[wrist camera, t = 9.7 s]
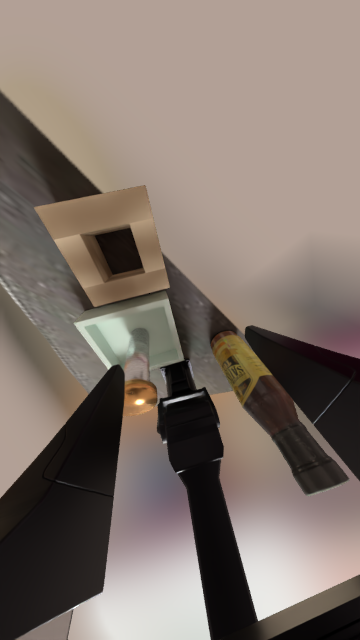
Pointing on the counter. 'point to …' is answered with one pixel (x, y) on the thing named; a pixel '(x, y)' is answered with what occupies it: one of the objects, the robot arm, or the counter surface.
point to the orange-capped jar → (138, 375)
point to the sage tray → (121, 318)
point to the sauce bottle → (275, 414)
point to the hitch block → (85, 253)
